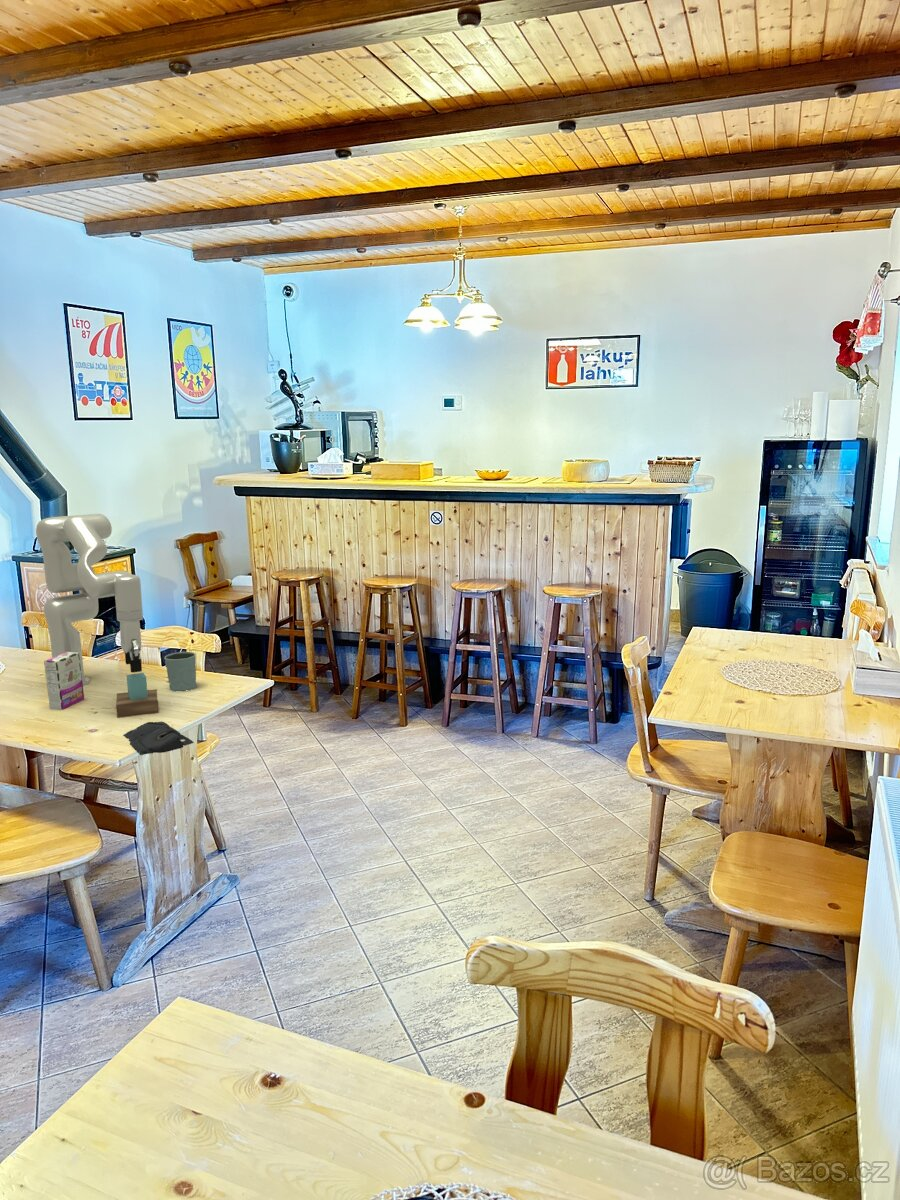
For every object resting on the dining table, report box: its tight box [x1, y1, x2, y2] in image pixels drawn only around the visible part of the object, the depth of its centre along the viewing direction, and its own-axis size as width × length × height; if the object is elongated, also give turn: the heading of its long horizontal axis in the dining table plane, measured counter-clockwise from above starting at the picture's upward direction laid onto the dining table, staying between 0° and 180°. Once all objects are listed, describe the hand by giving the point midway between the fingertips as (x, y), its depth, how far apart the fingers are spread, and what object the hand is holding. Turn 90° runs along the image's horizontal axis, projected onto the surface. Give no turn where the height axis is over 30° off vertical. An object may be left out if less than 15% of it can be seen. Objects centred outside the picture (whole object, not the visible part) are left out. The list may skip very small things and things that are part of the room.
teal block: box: [126, 672, 148, 700], centre depth 251 cm, size 5×5×7 cm
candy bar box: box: [43, 652, 85, 711], centre depth 257 cm, size 11×5×16 cm, turn 168°
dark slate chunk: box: [122, 721, 195, 756], centre depth 226 cm, size 15×22×5 cm
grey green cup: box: [164, 651, 197, 692], centre depth 273 cm, size 10×10×12 cm
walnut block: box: [115, 688, 159, 719], centre depth 252 cm, size 12×12×5 cm
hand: (133, 667), depth 250 cm, fingers open, 9 cm apart
